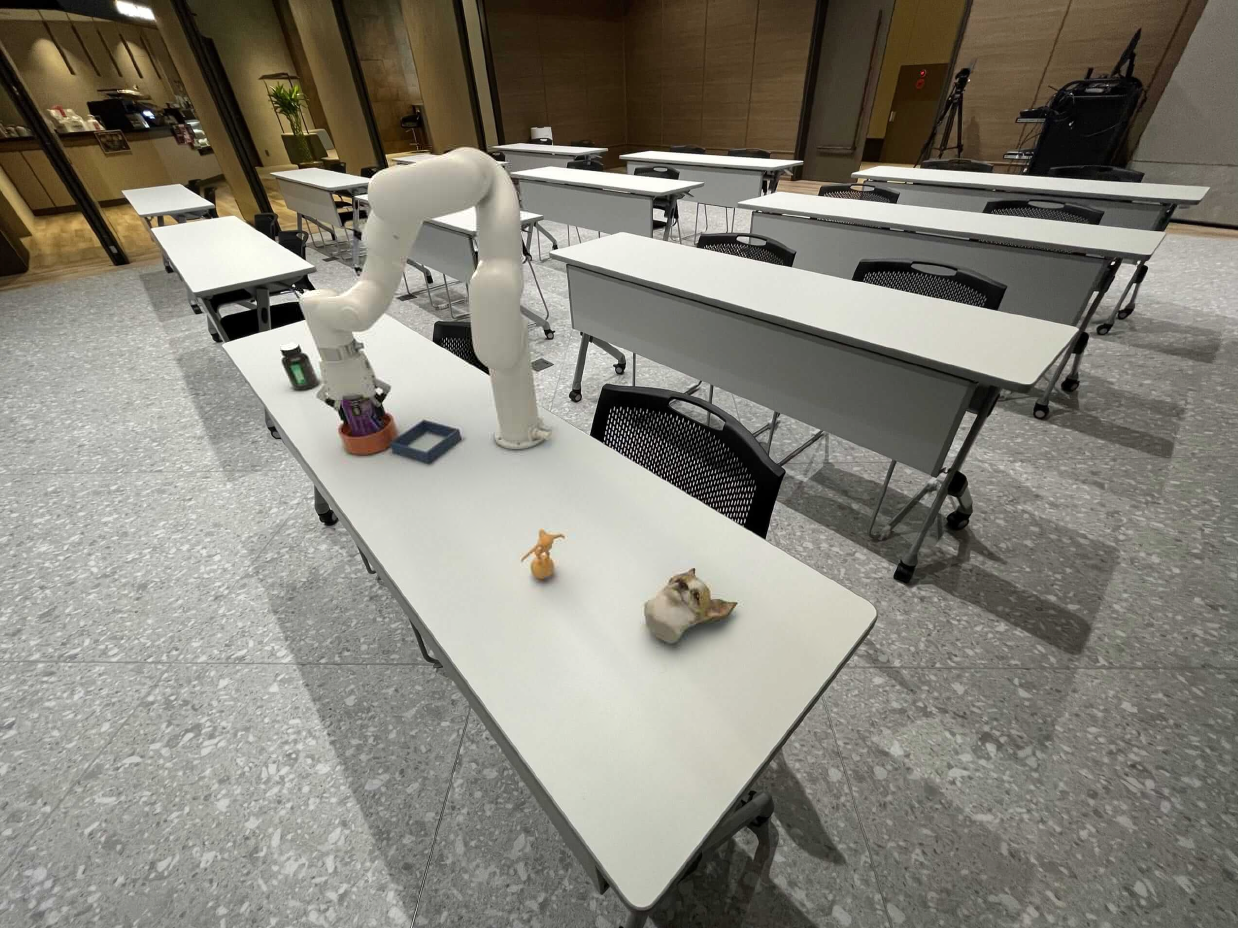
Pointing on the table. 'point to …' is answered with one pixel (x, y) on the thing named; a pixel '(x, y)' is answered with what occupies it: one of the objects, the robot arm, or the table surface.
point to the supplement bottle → (298, 367)
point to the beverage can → (361, 416)
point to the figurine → (542, 563)
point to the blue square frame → (400, 442)
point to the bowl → (369, 438)
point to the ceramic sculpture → (683, 607)
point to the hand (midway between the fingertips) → (364, 420)
